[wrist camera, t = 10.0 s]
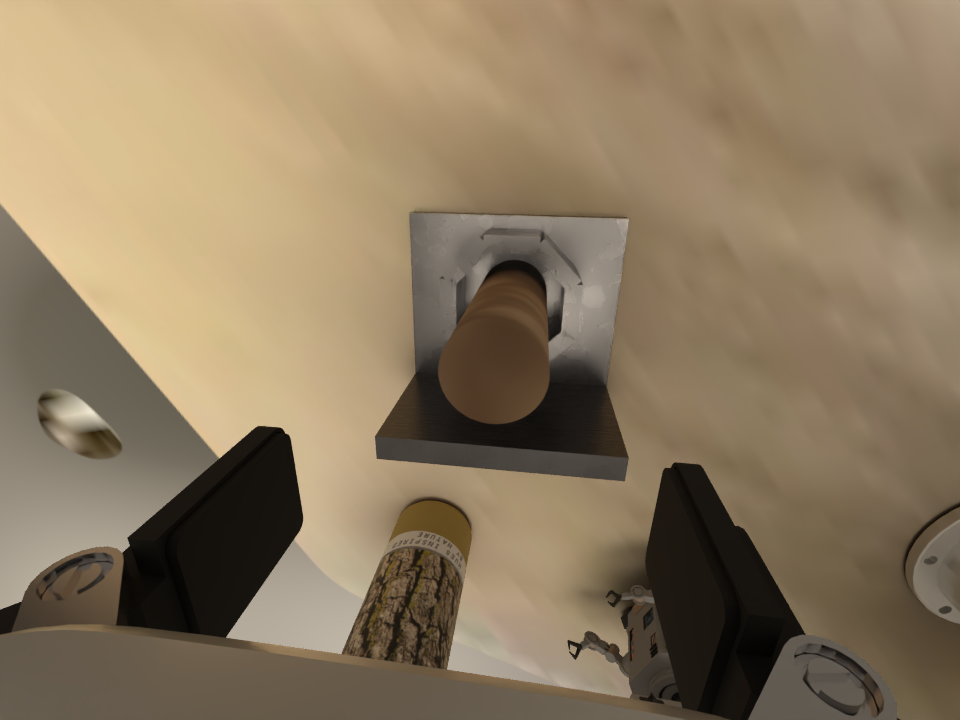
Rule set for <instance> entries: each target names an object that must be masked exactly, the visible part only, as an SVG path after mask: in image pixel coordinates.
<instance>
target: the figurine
mask: <svg viewBox="0 0 960 720" xmlns="http://www.w3.org/2000/svg"><path fill="white" fill-rule="evenodd" d="M610 594H613V595H614V596H615V597H616V599H615V601H614V603H611V602H609V601H607V602H608V603H609V604H610V605H611V606H612V607H615V606H616V604H617V603H618V602H619V601H621V600H630V599H632V601H633V602H634V603H636V604H635V605H634V606H633V607H632V608H633V609H630V610H627V611H626V612H625V613H624V615H623V616H622V617H621V620H622V623H623V626H624V629H626V630H627V633H628V653H627V654H626V655H625V656H624V657H622V656H621V655H620V654H619V648H618V646H617V645H616V644H610V645H609V644H608V643H607V642H605V641H603V640H600V638H599V637H598V636H597V635H596V634H595V633H593V632H591V631H587V632H585V637H584V641H582V642H581V643H580V644H579V643H575V642H572V641H569V640H568V647H569V650H570V644H571V645H573V646H575V647H577V651H576V654H575V655H574V654H572V653H571V652H570V651H569V653H570V654H571V655H572V656H573V658H574V659H575V660H576V658H577V657H578V655H579V653H580V651H581V649H582V650H584V649H586V648H589V649H591V650H594V651H598V652H600V653H601V654H602V655H605V657H606V659H607V660H608V661H609V662H611V663H613V662H616V663H617V664H618V665H619V668H620V670H621V672H622V673H623V674H624V675H625V676H627V677H629V684H630V687H631V690H632V693H633V694H631V696H630V699H636V700H642V701H647V702H653V703H659V704H665V705H671V706H675V707H680V708H682V704H681V700H680V697H679V693H678V689H677V685H676V681H675V678H674V674H673V670H672V666H671V662H670V659H669V655H668V651H667V647H666V643H665V640H664V636H663V632H662V628H661V624H660V621H659V617H658V613H657V609H656V605H655V602H654V598H653V594H652V590H651V589H650V590H646V589H645V588H644V587H642V586H640V585H634V586H632V587H631V589H630V592H625V593H622V595H619V594H617V593H615V592H614V591H613V590H610V591H609V593H608V595H607V596H606V598H607V597H608V596H609V595H610Z"/></svg>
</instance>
